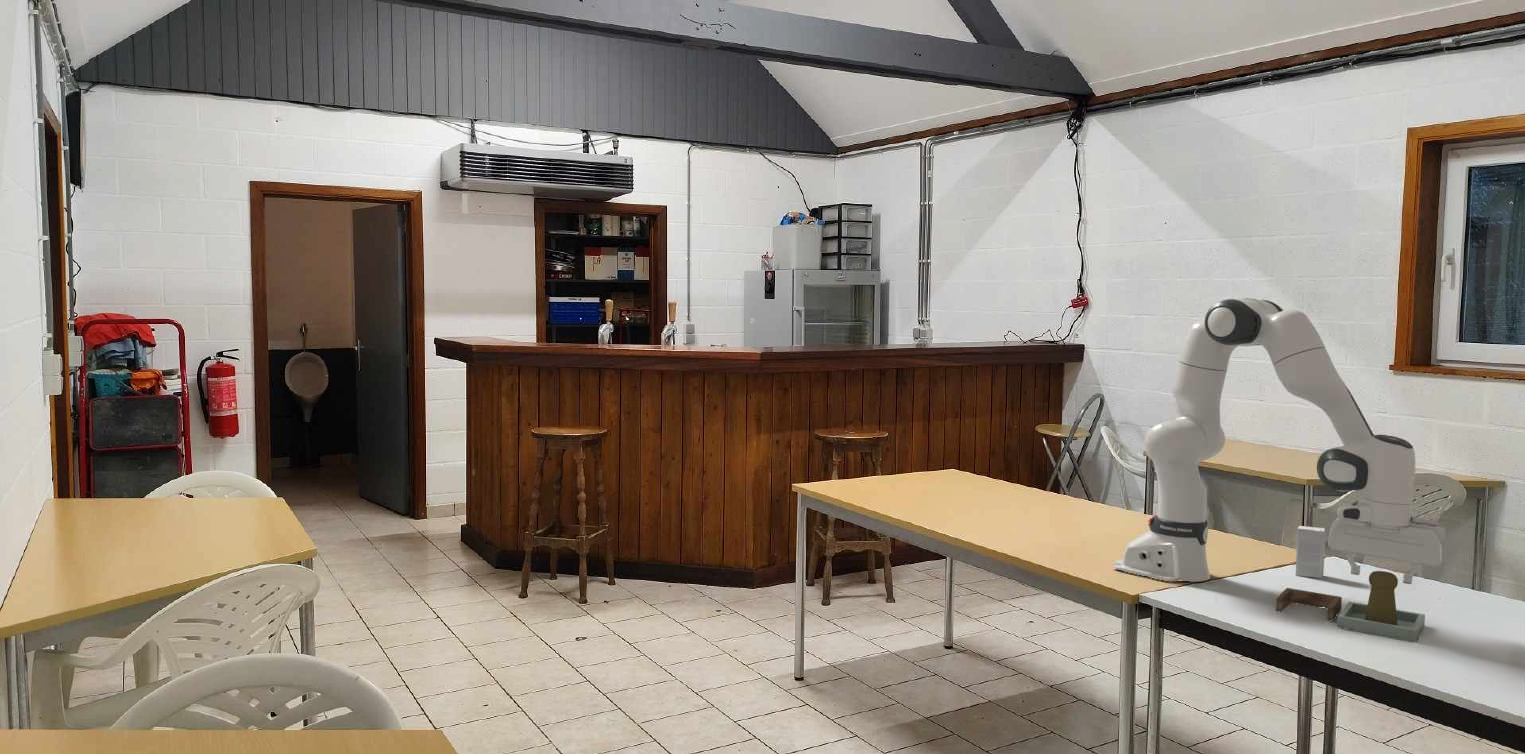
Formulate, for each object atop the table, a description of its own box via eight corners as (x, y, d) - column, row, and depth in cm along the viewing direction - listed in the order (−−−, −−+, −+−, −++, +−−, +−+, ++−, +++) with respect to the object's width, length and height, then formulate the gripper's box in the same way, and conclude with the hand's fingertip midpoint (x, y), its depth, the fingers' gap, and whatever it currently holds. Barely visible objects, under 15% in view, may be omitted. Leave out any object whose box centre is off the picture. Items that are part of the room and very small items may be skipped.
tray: (1337, 627, 210) (1337, 616, 210) (1348, 612, 221) (1349, 601, 221) (1416, 642, 202) (1417, 630, 202) (1424, 625, 213) (1425, 614, 212)
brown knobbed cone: (1370, 626, 209) (1373, 574, 208) (1359, 618, 215) (1362, 567, 214) (1402, 629, 208) (1405, 577, 207) (1391, 620, 214) (1394, 569, 213)
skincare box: (1323, 575, 252) (1326, 528, 251) (1322, 579, 249) (1325, 531, 248) (1296, 571, 255) (1298, 525, 255) (1294, 575, 252) (1297, 528, 251)
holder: (1275, 611, 221) (1276, 597, 221) (1286, 600, 230) (1287, 587, 229) (1332, 621, 215) (1333, 607, 214) (1341, 610, 223) (1341, 597, 222)
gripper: (1447, 519, 206) (1442, 585, 207) (1334, 504, 219) (1329, 566, 220) (1444, 524, 201) (1438, 592, 202) (1329, 508, 214) (1324, 572, 215)
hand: (1381, 578), depth 211 cm, fingers open, 8 cm apart
